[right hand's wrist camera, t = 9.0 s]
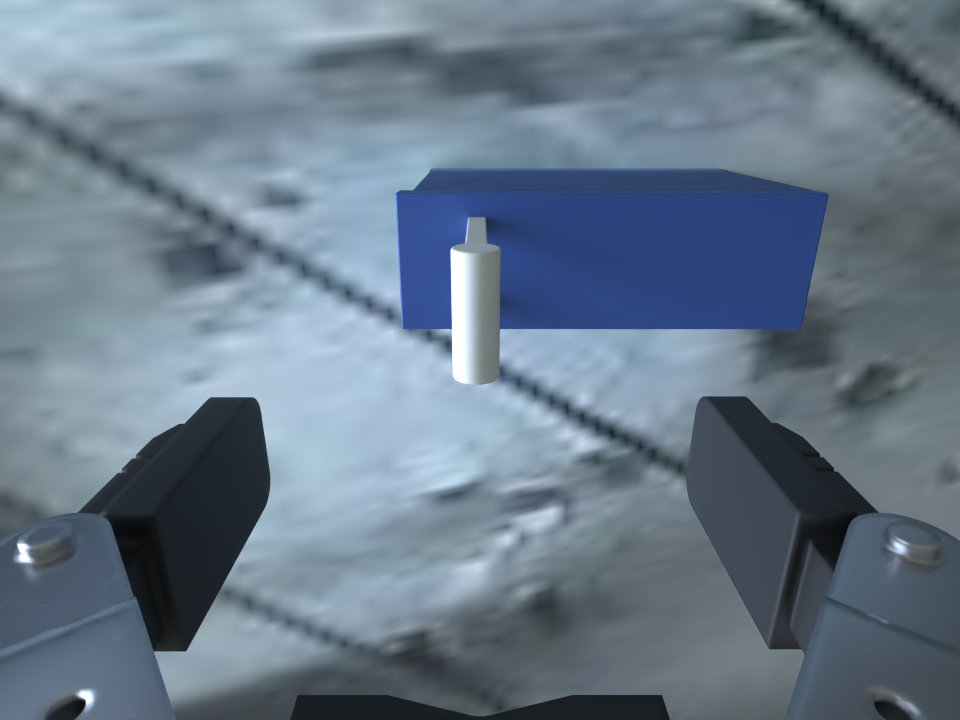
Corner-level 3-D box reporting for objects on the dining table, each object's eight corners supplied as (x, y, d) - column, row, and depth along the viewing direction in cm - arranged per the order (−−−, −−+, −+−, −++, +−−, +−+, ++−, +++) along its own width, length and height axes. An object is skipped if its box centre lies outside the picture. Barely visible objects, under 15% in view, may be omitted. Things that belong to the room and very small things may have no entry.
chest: (434, 266, 37) (417, 321, 27) (431, 168, 35) (411, 189, 25) (706, 266, 37) (788, 321, 27) (720, 168, 35) (814, 189, 25)
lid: (405, 321, 27) (373, 407, 19) (398, 190, 25) (359, 225, 17) (789, 321, 27) (919, 408, 19) (815, 190, 25) (973, 225, 17)
